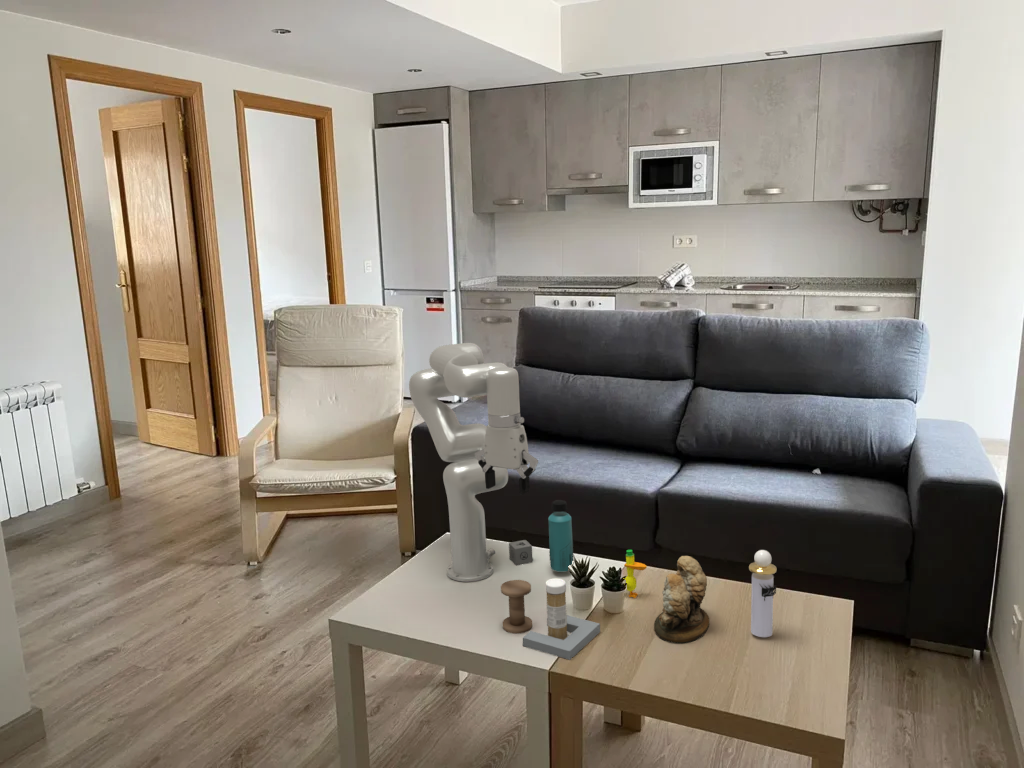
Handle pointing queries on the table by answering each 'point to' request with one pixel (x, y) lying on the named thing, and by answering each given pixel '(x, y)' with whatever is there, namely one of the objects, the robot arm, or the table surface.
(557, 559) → the beverage bottle
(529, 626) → the spool
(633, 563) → the toy figure
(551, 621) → the sprinkles bottle
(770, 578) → the perfume bottle
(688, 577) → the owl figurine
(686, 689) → the table surface
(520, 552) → the dice cube
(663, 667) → the table surface
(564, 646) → the notched board
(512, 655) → the table surface
